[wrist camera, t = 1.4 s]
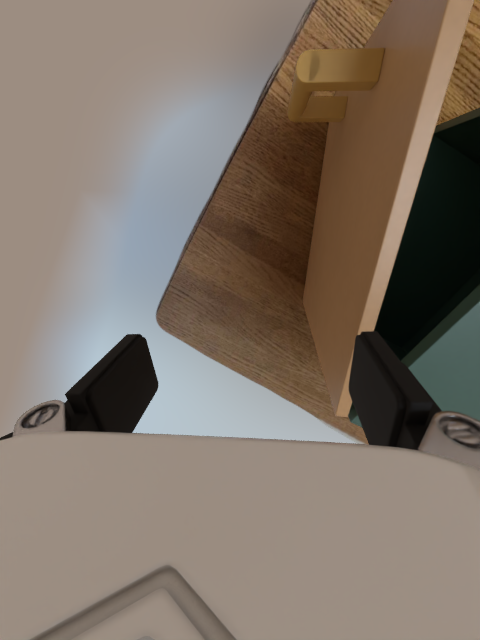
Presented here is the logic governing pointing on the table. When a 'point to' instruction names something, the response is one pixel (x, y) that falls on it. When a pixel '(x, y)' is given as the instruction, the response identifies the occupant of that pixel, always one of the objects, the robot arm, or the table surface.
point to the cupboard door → (369, 165)
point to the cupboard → (440, 274)
